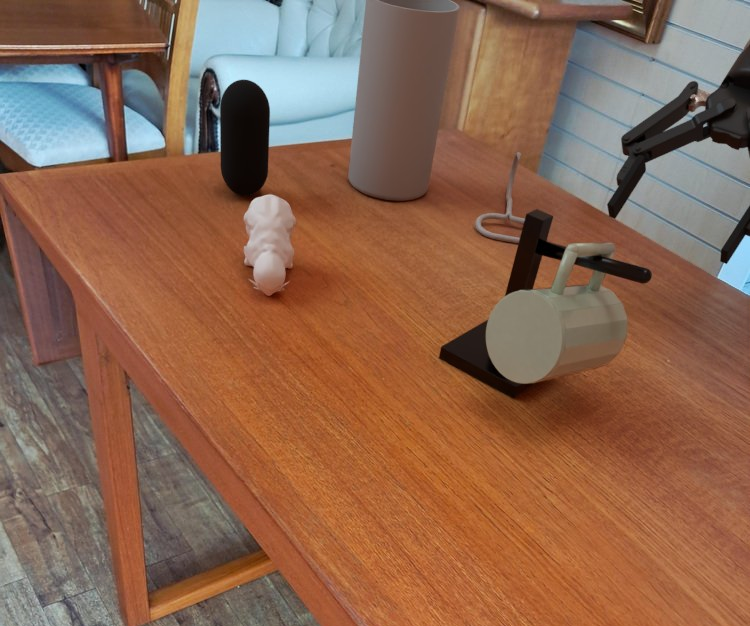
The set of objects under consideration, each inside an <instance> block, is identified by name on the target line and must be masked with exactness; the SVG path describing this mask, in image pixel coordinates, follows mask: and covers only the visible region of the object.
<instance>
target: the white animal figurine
mask: <svg viewBox="0 0 750 626" xmlns="http://www.w3.org/2000/svg"><path fill="white" fill-rule="evenodd" d="M292 210H293V209H292V208H291V205H290V204H289V202H288V201H287V200H286V199H283V198H281V197H280V196H277V195H275V194H271V193H269V194H265V195H261V196H258V197H255V198H253V200H251V202H250V203H249V206H248V209H247V210H246V212H245V213H244V216H243V223H244V224H245V232H246V234H247V237H248V238H249V239H248V241H247V243H246V245H244V246H243V254H244V257H245V258H244V260H243V261H244V262H243V263H244V265H245V266H246V267H253V270H252V275H253V279H250V278H248V277H247V279H248V281H249V282H250V283H252V285H253V286H254V287H253V286H252V287H253V289H256V290H258V291H260V292H262V293H264V294H265V296H267V297H271V296H272V295H273V294H275V293H276V292H281V291H285V289H286V288H285V286H287V285H288V284H289V283H290V282H291V280H289V281H288V282H286V276H287V275H286V269H287V268H288V269H290V270H291V269H292V268H293V266H294V264H293V261H294V257H295V249H294V247H293V245H292V243H291V239H292V236H293V234H294V227H296V225H297V220H296V217H295V215H294V214H293V211H292ZM288 269H287V270H288Z"/></svg>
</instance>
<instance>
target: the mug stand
mask: <svg viewBox="0 0 750 626" xmlns="http://www.w3.org/2000/svg"><path fill="white" fill-rule="evenodd" d="M524 219H525V221H524V225H523V224H522V229H521V233H520V236H519V238H520V240H519V244H518V243H517V247H516V252H515V255H514V260H513V263H512V267H511V271H510V275H509V279H508V283H507V286H506V290H505V294H504V297H505V296H506V295H508V294H510V293H512V292H516V291H519V290H527V289H534V287H535V283H536V279H537V275H538V272H539V269H540V265H541V261H542V259H543V257H546V258H549V259H553V260H556V261H560V262H561V260H562V257H563V255H564V252H565V249H566V247H567V246H566V245H562V244H560V243H559V244H558V243H554V242H551V241H548V237H549V234H550V231H551V227H552V223H553V219H554V215H552V214H551V213H548V212H545V211H543V210H540V209H538V208H536V209H533V210H531V211H529V212H527V213H525V217H524ZM574 265H575V266H578V267H581V268H585V269H588V270H591V271H594V270H595V271H599V272H602V273H606V274H605V275H610V276H613V277H617V278H621V279H624V280H628V281H631V282H635V283H638V284H643V285H644V284H647V283H649V282H651V280H652V278H653V274H652V271H651V269H649V268H648V267H644V266H639V265H636V264H632V263H629V262H625V261H622V260H618V259H613V258H612V259H610V258H607V257H603V256H589V257H577V258H576V260H575V263H574ZM487 322H488V319H486V320H485V321H483V322H481V323H480V324H478V325H476V326H474V327H473V328H471V329H470V330H467V331H466V332H464V333H462V334H459V336H456V337H455V338H453V339H452V340H450V341H448V342H447V343H445V344H444V345H441V346H440V350H439V355H438V358H439V359H440V360H441V361H443V362H446V363H447V364H450V365H451V366H453V367H455V368H457V369H458V370H459V371H462V372H464V373H466V374H467V375H469V376H472V378H475V379H476V380H479V381H481V382H482V383H483V384H486V385H488V386H489V387H491V388H493V389H495V390H497V391H498V392H499V393H502V394H504V395H506V396H507V397H510V398H512V399H515V398H516V397H517V396H519V395H520V394H522V393H523V392H525V391H526V390H527V389H528V388H529V389H530V387H531V386H534V384H535V383H528V384H522V383H516V382H513V381H511V380H509V379H507V378H506V377H504V376H503V375H502V374H501V373H500V372H499V371H498V370H497V369H496V368H495V366H494V365H493V363H492V361H491V359H490V356H489V354H488V350H487V346H486V327H487Z"/></svg>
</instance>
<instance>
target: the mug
mask: <svg viewBox="0 0 750 626" xmlns="http://www.w3.org/2000/svg"><path fill="white" fill-rule="evenodd" d="M615 252H616V245H615V244H614V243H613V242H576V243H575V242H574V243H573V242H572V243H569V244H567V246H566V249H565V252H564V255H563V257H562V260H561V261H560V262H559V266H558V268H557V271H556V274H555V277H554V279H553V281H552V284H551V286H550V287H549V286H548V287H540V288H539V287H538V288H533V289H527V290H519V291H516V292H512V293H510V294H508V295H506V296H505V295H504V296H503V297H502V298H501V299H500V300H499V301H498V302H497V303H496V304H495V305H494V307H492V309H491V312H490V314H489V316H488V319H487V320H488V322H487V327H486V346H487V350H488V354H489V356H490V359H491V361H492V363H493V365H494V366H495V368H496V369H497V370H498V371H499V372H500V373H501V374H502V375H503V376H504V377H506V378H507V379H509V380H511V381H513V382H516V383H522V384H528V383H534V384H536V383H541V382H546V381H550V380H555V379H557V378H562V377H567V376H571V375H576V374H580V373H584V372H589V371H593V370H597V369H599V368H601V367H604V366H607V365H609V364H611V362H612V361H614V359H615V358H616V357H617V356H618V355H619V354H621V351H622V349H623V347H624V345H625V343H626V340H627V337H628V323H629V322H628V321H629V320H628V316H627V313H626V310H625V307H624V304H623V302H622V301H621V300H620V298H618V296H617V295H616V294H615V293H614V292H613V290H611V289H609V288H608V287H604V286H602V285H603V281H604V279H605V278H606V275H607V274H606V273H602V272H599V271H595V270H592V274H591V277H590V278H589V281H588V284H587V283H586V284H584V283H583V284H574V285H567V284H568V282H569V279H570V276H571V273H572V271H573V268H574V263H575V260H576V258H577V257H589V256H603V257H607V258H610V259H613V257H614V255H615Z"/></svg>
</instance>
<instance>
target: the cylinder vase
mask: <svg viewBox="0 0 750 626" xmlns="http://www.w3.org/2000/svg"><path fill="white" fill-rule="evenodd" d="M459 12H460V5H459V4H458V3H456V2H455V1H453V0H365V6H364V16H363V25H362V34H361V35H362V36H361V46H360V54H359V65H358V73H357V74H358V75H357V84H356V92H355V93H356V95H355V103H354V115H353V122H352V134H351V143H350V144H351V145H350V153H349V164H348V173H347V177H348V181H349V183H350V184H351V186H352V187H353V188H354V189H356V190H357V191H358V192H360V193H362V194H364V195H367V196H369V197H372V198H376V199H379V200H383V201H384V200H386V201H394V202H401V201H402V202H404V201H412V200H415V199H419V198H421V197H422V196H424V195H425V194H426V193H427V191H428V190H429V185H430V180H431V174H432V169H433V162H434V157H435V151H436V146H437V141H438V133H439V128H440V122H441V116H442V110H443V104H444V99H445V93H446V87H447V86H446V85H447V81H448V76H449V69H450V65H451V64H450V63H451V58H452V53H453V52H452V51H453V47H454V41H455V36H456V35H455V34H456V29H457V22H458V17H459Z"/></svg>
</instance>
